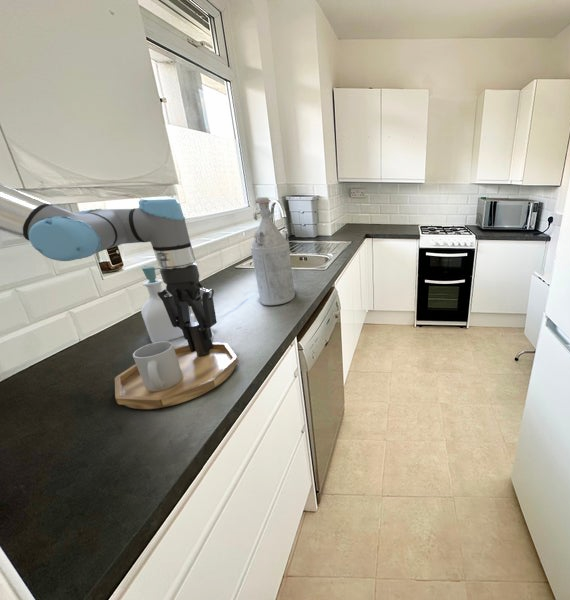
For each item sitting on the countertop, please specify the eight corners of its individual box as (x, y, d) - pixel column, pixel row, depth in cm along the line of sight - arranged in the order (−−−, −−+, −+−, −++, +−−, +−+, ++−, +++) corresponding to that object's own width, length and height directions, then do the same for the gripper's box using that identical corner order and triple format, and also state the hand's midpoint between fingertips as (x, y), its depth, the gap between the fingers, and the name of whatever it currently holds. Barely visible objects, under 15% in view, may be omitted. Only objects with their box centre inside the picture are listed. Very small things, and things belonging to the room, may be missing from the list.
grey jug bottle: (253, 307, 118) (230, 198, 104) (271, 292, 134) (254, 195, 120) (286, 307, 118) (268, 197, 103) (300, 291, 134) (287, 194, 119)
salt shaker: (218, 334, 99) (209, 302, 95) (207, 342, 94) (198, 309, 90) (201, 334, 99) (192, 301, 95) (190, 342, 94) (180, 309, 90)
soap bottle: (192, 337, 97) (171, 266, 88) (154, 348, 91) (127, 273, 82) (185, 327, 103) (165, 260, 95) (149, 337, 97) (124, 266, 89)
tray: (88, 407, 67) (69, 367, 63) (172, 349, 89) (161, 317, 85) (195, 411, 65) (182, 370, 61) (253, 351, 87) (246, 319, 84)
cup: (184, 370, 77) (174, 338, 74) (180, 393, 69) (168, 358, 66) (149, 379, 74) (136, 346, 71) (139, 403, 66) (125, 368, 63)
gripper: (133, 269, 72) (163, 356, 81) (199, 269, 71) (222, 357, 80) (158, 261, 79) (183, 342, 88) (219, 261, 78) (238, 343, 87)
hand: (202, 349), depth 84 cm, fingers closed on tray, 3 cm apart
